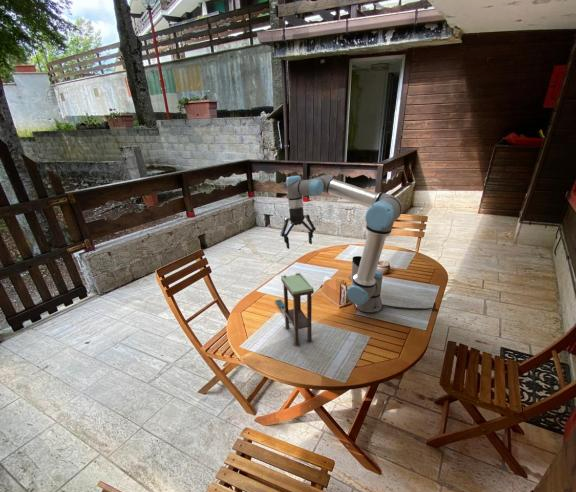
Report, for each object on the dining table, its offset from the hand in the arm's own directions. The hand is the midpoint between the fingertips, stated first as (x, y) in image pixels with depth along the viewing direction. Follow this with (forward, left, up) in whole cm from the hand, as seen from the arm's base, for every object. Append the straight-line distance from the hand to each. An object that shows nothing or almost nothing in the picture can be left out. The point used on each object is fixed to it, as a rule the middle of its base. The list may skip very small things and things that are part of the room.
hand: (299, 245), depth 177 cm
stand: (-14, +34, -35) cm, 50 cm away
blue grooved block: (+3, +16, -35) cm, 39 cm away
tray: (-14, +34, -5) cm, 37 cm away
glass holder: (-25, -43, -35) cm, 61 cm away
